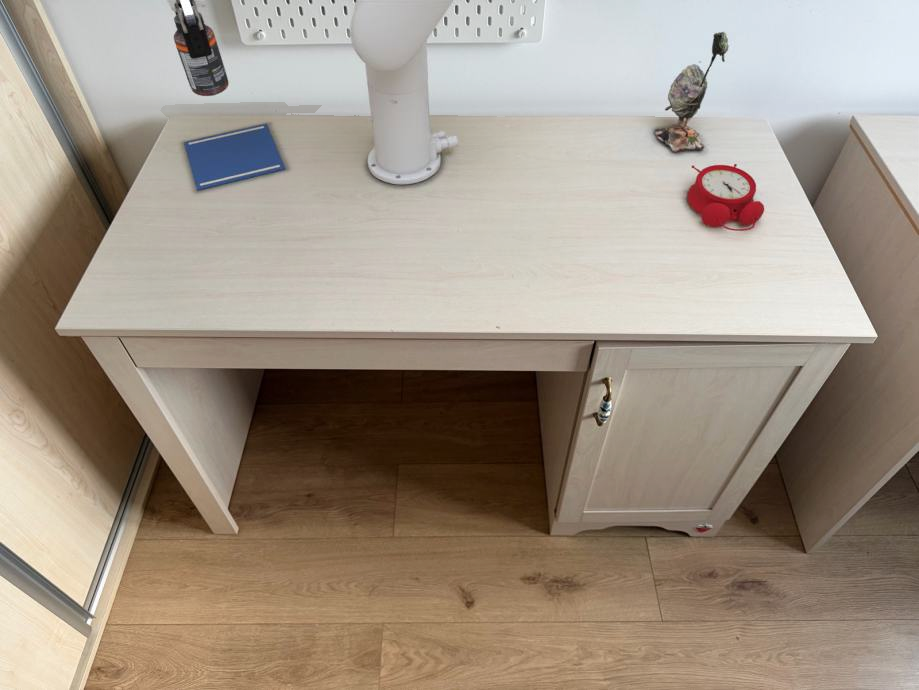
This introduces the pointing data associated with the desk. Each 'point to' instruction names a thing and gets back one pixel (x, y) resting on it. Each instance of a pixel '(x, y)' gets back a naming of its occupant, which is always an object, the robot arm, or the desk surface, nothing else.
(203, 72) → the supplement bottle
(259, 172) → the napkin
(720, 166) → the alarm clock
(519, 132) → the desk surface
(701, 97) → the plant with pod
